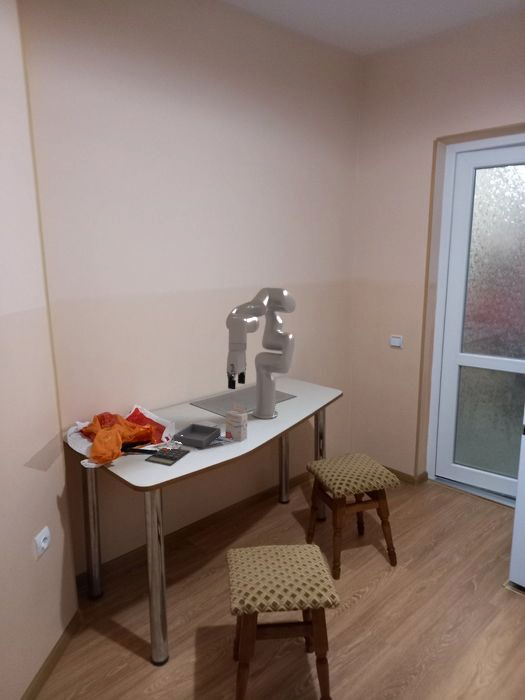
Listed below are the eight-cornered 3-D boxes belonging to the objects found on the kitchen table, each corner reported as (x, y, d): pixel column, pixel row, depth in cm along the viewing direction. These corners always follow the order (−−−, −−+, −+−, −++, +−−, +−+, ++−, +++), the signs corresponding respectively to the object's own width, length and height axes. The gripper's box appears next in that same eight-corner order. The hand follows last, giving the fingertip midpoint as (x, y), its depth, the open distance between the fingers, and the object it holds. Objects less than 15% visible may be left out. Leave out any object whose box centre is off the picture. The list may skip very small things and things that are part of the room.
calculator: (190, 450, 204) (170, 464, 190) (190, 452, 204) (170, 467, 190) (165, 445, 208) (144, 459, 194) (165, 447, 208) (144, 461, 194)
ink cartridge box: (224, 437, 220) (225, 405, 217) (231, 434, 224) (231, 402, 221) (241, 441, 215) (241, 408, 213) (247, 438, 220) (248, 405, 217)
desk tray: (192, 431, 226) (192, 423, 226) (220, 436, 221) (220, 428, 221) (173, 443, 212) (173, 435, 211) (202, 449, 207) (203, 440, 206)
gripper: (238, 342, 221) (237, 380, 224) (220, 348, 205) (219, 389, 208) (253, 344, 218) (252, 382, 221) (237, 350, 202) (236, 392, 206)
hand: (236, 386), depth 215 cm, fingers open, 9 cm apart
